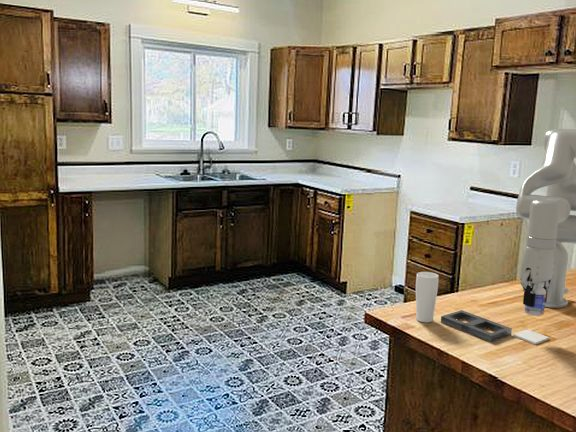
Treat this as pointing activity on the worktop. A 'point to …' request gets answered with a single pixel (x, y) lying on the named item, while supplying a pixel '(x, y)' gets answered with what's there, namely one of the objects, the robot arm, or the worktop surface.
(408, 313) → the worktop surface
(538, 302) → the pill bottle
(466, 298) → the worktop surface
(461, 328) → the grey double square frame
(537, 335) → the tile
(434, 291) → the drinking glass
